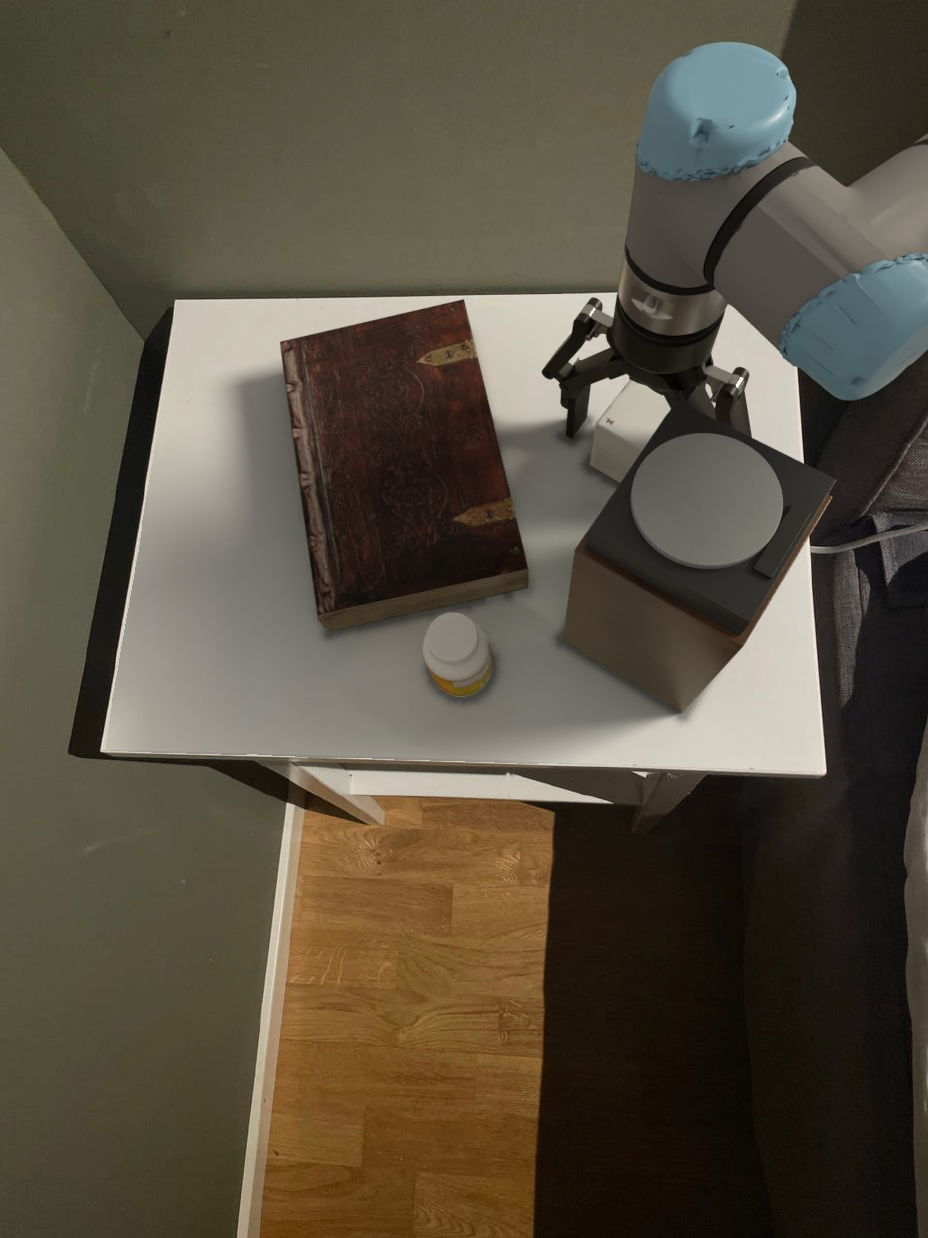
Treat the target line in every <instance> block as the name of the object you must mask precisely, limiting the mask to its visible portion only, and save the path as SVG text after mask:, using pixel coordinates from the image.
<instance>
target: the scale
mask: <svg viewBox="0 0 928 1238" xmlns="http://www.w3.org/2000/svg"><path fill="white" fill-rule="evenodd" d="M836 482H837V479H836V478H834V477H832V476H830V475H828V474H826V473H824V472H822V471H820V470H818V469H816V468H814V467H812V466H810V465H808V464H806V463H803V462H802V461H799V460H797V458H794V457H792V456H790V455H788V454H785V453H784V452H783V451H780V450H778V449H775V448H774V447H772V446H769V445H767V444H765V443H764V442H762V441H760V440H758V439H756V438H753V436H752V437H750V436H748V435H746V434H744V433H742V432H740V431H738V430H736V429H734V428H732V427H730V426H728V425H726V424H724V423H722V422H720V421H718V420H716V419H714V418H712V417H710V416H708V415H706V414H704V413H702V412H700V411H698V410H696V409H694V408H692V407H690V406H688V405H686V404H684V403H682V402H680V401H678V400H677V401H676V402H675V404H674V405H673V407H672V408H671V410H670V411H669V413H668V414H667V415H666V417H665V418H664V420H663V421H662V423H661V424H660V426H659V427H658V429H657V430H656V432H655V433H654V435H653V436H652V438H651V439H650V440H649V442H648V443H647V445H646V446H645V448H644V449H643V451H642V452H641V454H640V455H639V457H638V458H637V460H636V461H635V463H634V464H633V465H632V467H631V468H630V470H629V471H628V473H627V474H626V476H625V477H624V479H623V480H622V482H621V483H619V484H620V485H619V484H618V485H619V486H618V485H617V487H618V488H617V487H616V488H617V489H616V488H615V490H616V491H615V490H614V491H615V492H614V491H613V492H614V493H612V494H613V495H612V494H611V495H612V496H610V497H611V498H610V497H609V498H610V499H609V498H608V500H609V501H608V500H607V501H608V502H607V501H606V503H607V504H606V503H605V504H606V505H605V504H604V506H605V507H604V506H603V507H604V508H603V507H602V509H603V510H602V509H601V510H602V511H601V510H600V512H601V513H600V512H599V513H600V514H599V513H598V515H599V516H598V515H597V516H598V517H597V516H596V517H597V518H596V517H595V519H596V520H595V519H594V520H595V521H594V520H593V522H594V523H593V522H592V523H593V524H591V525H592V526H591V525H590V526H591V527H589V528H590V529H589V528H588V529H589V530H588V529H587V531H588V533H587V539H586V545H585V548H587V549H588V550H590V551H592V552H594V553H595V554H597V555H599V556H601V557H602V558H604V559H606V560H608V561H609V562H611V563H613V564H615V565H616V566H618V567H620V568H622V569H623V570H625V571H627V572H629V573H630V574H632V575H634V576H636V577H638V578H639V579H641V580H643V581H645V582H646V583H648V584H650V585H652V586H653V587H655V588H657V589H659V590H660V591H662V592H664V593H666V594H667V595H669V596H671V597H673V598H674V599H676V600H678V601H680V602H681V603H683V604H685V605H687V606H689V607H690V608H692V609H694V610H696V611H697V612H699V613H701V614H703V615H704V616H706V617H708V618H710V619H711V620H713V621H715V622H717V623H718V624H720V625H722V626H724V627H725V628H727V629H729V630H731V631H732V632H734V633H736V634H738V635H741V634H742V633H743V631H744V630H745V629H746V628H747V627H748V626H749V624H750V623H751V622H752V620H753V619H754V617H755V615H756V614H757V612H758V610H759V609H760V607H761V605H762V604H763V602H764V600H765V599H766V597H767V595H768V594H769V592H770V590H771V589H772V587H773V585H774V584H775V582H776V580H777V579H778V577H779V575H780V574H781V572H782V570H783V569H784V567H785V565H786V564H787V562H788V560H789V559H790V557H791V555H792V554H793V552H794V550H795V549H796V547H797V545H798V544H799V542H800V540H801V539H802V537H803V535H804V534H805V532H806V530H807V529H808V527H809V525H810V524H811V522H812V520H813V519H814V517H815V515H816V514H817V512H818V510H819V509H820V507H821V505H822V504H823V502H824V500H825V499H826V497H827V495H828V494H829V493H830V492H831V490H832V489H833V487H834V485H835V483H836ZM829 495H830V494H829Z"/></svg>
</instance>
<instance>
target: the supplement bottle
mask: <svg viewBox="0 0 928 1238" xmlns="http://www.w3.org/2000/svg"><path fill="white" fill-rule="evenodd" d="M422 655H423V660H424V662H425V664H426V666H427V669H428V670H429V672H430V675H431V676H432V678H433V680H434V683H435V684H436V685H437V687H438V689H440V690H441V691H443V692H444V693H445V694H447V695H450V696H451V697H457V698H465V697H471V696H473V695H476V694H478V693H479V692H480V691H482V690H483V689H484V688H485V687H486V686H487V685H488V683H489V682H490V679H491V677H492V673H493V659H492V653H491V649H490V643H489V639H488V636H487V633H486V631H485V630H484V629H483V627H482V626H481V625H480V624H479V623H478V622H477V621H475V620H474V619H472V618H470V617H468V616H467V615H466V614H463V613H460V612H454V611H453V612H452V611H451V612H446V613H443V614H441V615H439V616H437V617H436V618H434V620H433V621H432V622H431V623H430V625H429V627H428V629H427V631H426V633H425V635H424V638H423V641H422Z"/></svg>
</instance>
